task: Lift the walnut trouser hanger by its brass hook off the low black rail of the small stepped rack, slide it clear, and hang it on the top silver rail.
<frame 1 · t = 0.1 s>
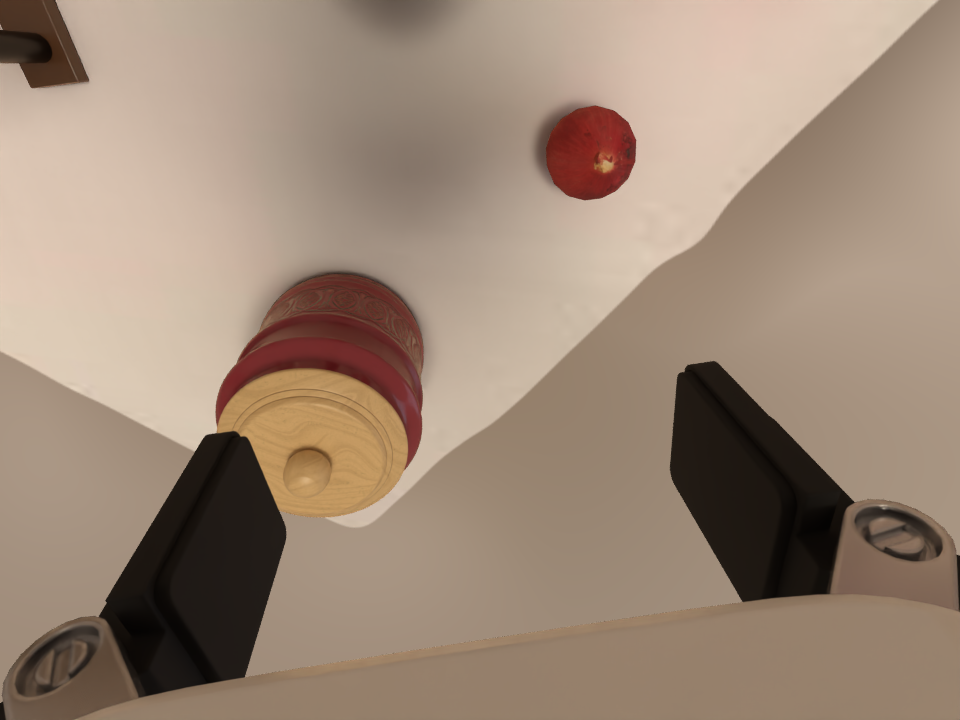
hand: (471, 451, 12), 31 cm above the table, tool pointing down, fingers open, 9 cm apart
kitchen canister: (346, 341, 45), on the table
red oval fruit: (576, 146, 39), on the table
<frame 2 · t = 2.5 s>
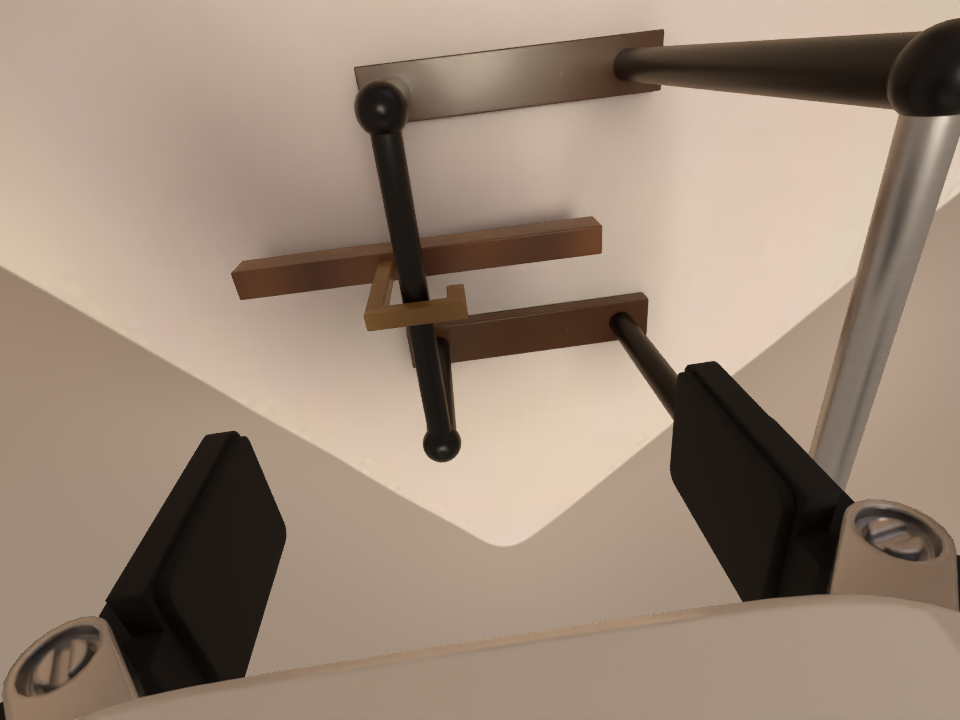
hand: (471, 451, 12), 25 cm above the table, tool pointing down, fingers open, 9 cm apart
rack: (519, 217, 34), on the table
hanger: (420, 257, 29), point 6 cm above the table, touching rack
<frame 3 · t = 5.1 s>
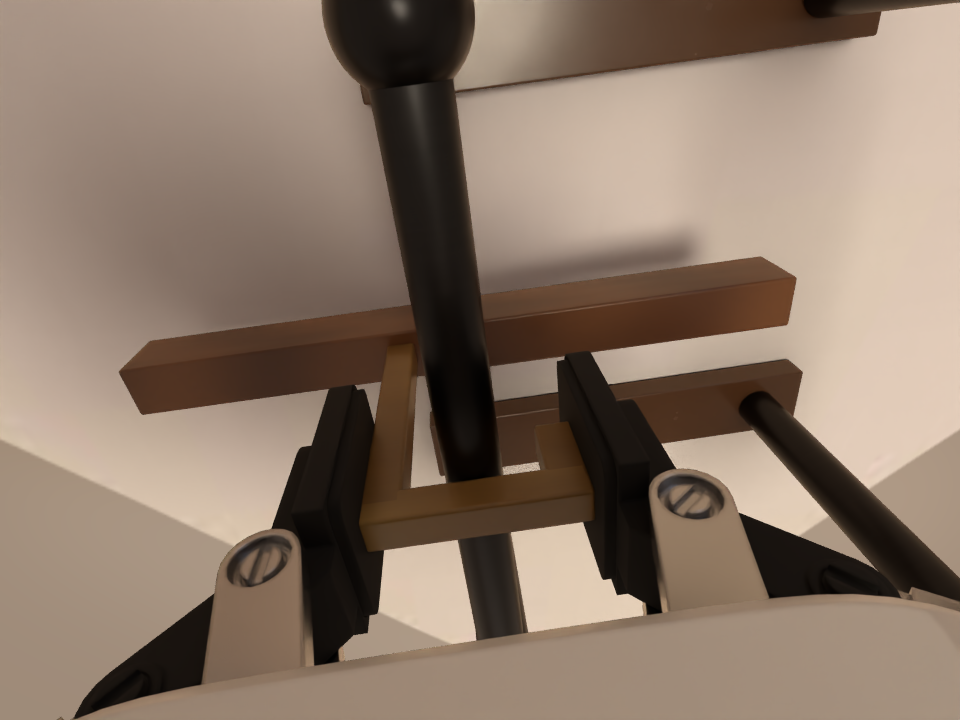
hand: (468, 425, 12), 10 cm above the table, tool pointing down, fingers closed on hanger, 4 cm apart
rack: (610, 250, 21), on the table
hanger: (461, 333, 17), point 5 cm above the table, touching gripper, rack
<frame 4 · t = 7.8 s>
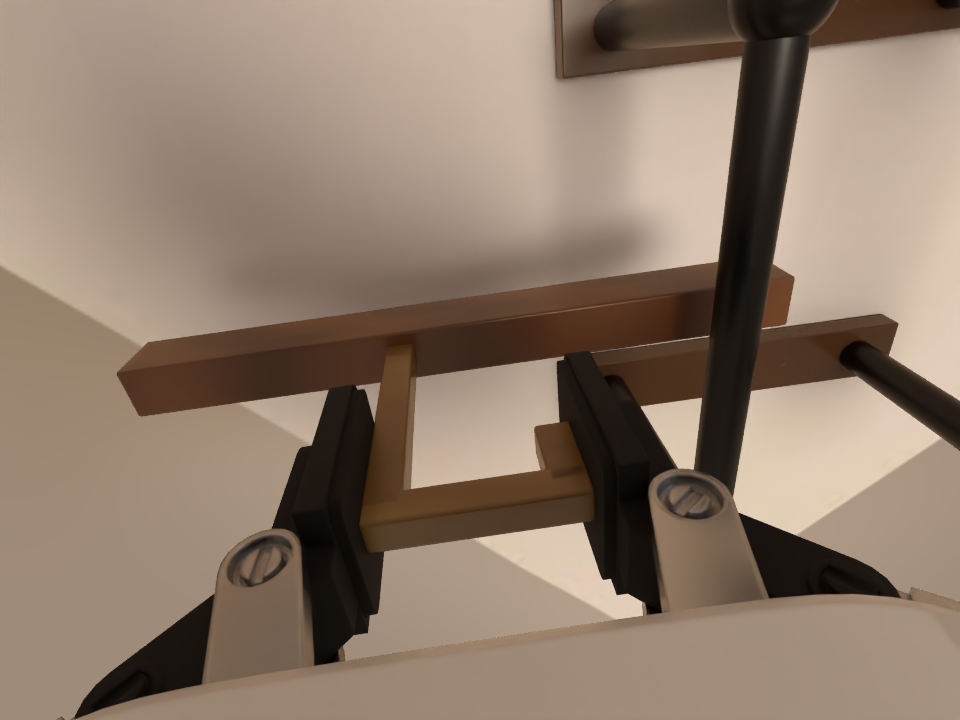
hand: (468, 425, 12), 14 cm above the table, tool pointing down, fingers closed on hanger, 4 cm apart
rack: (741, 211, 25), on the table
hanger: (460, 333, 17), point 9 cm above the table, touching gripper
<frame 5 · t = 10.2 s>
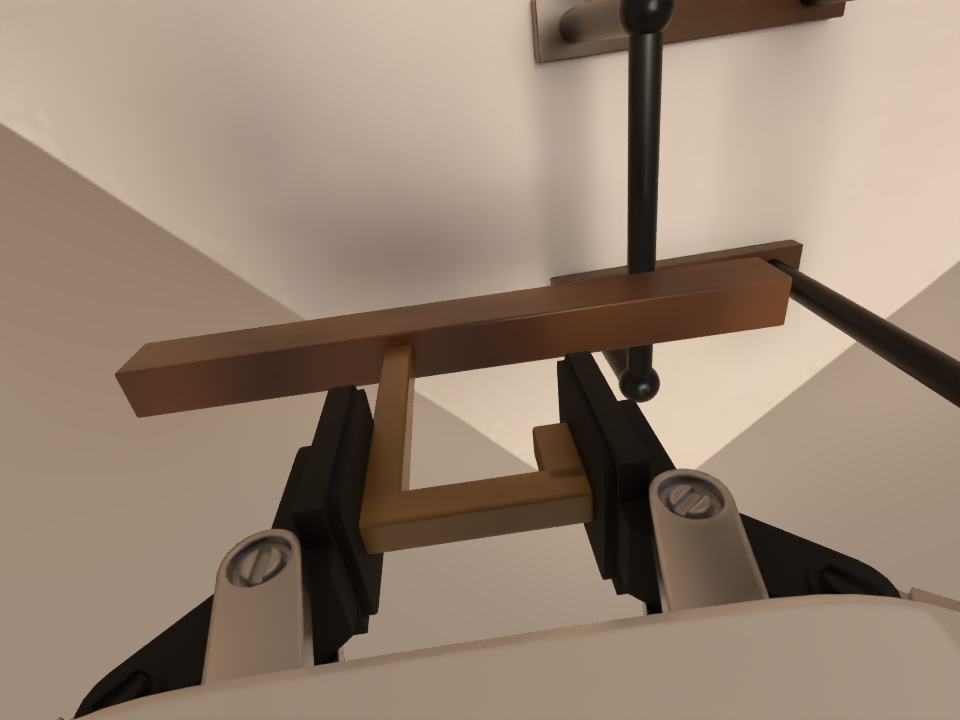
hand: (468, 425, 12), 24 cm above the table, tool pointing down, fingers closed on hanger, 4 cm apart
rack: (676, 160, 33), on the table
hanger: (458, 334, 17), point 19 cm above the table, touching gripper
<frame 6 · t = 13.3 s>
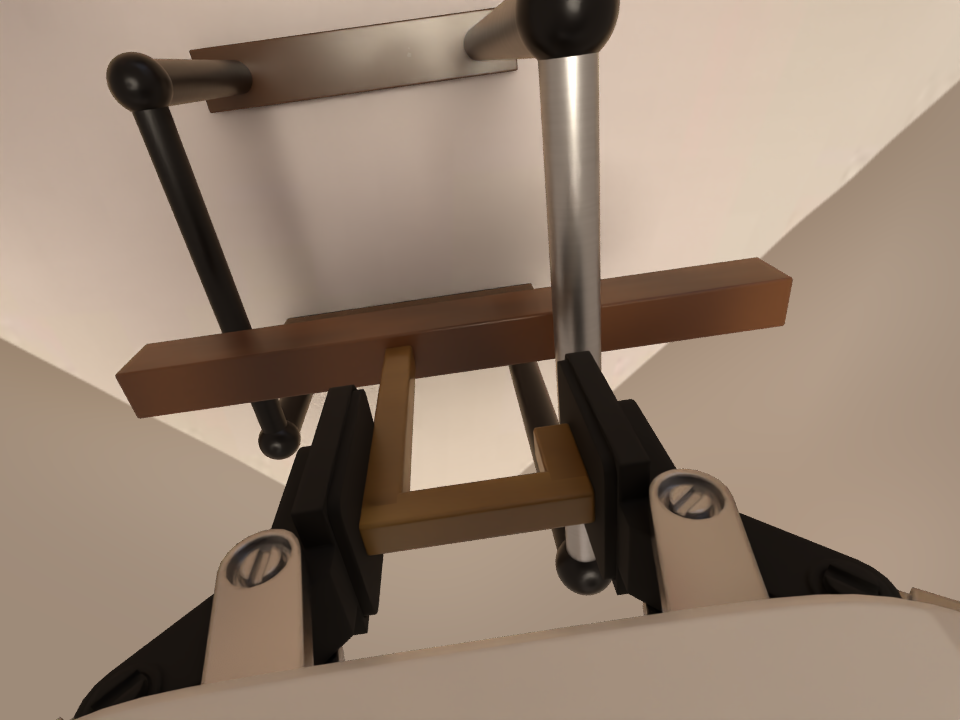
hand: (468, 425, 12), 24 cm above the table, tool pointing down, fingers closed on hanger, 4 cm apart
rack: (390, 205, 33), on the table
hanger: (458, 335, 17), point 19 cm above the table, touching gripper
when the fingers open (20 cm above the table, at t = 15.6 s): hanger stays where it is, resting on rack.
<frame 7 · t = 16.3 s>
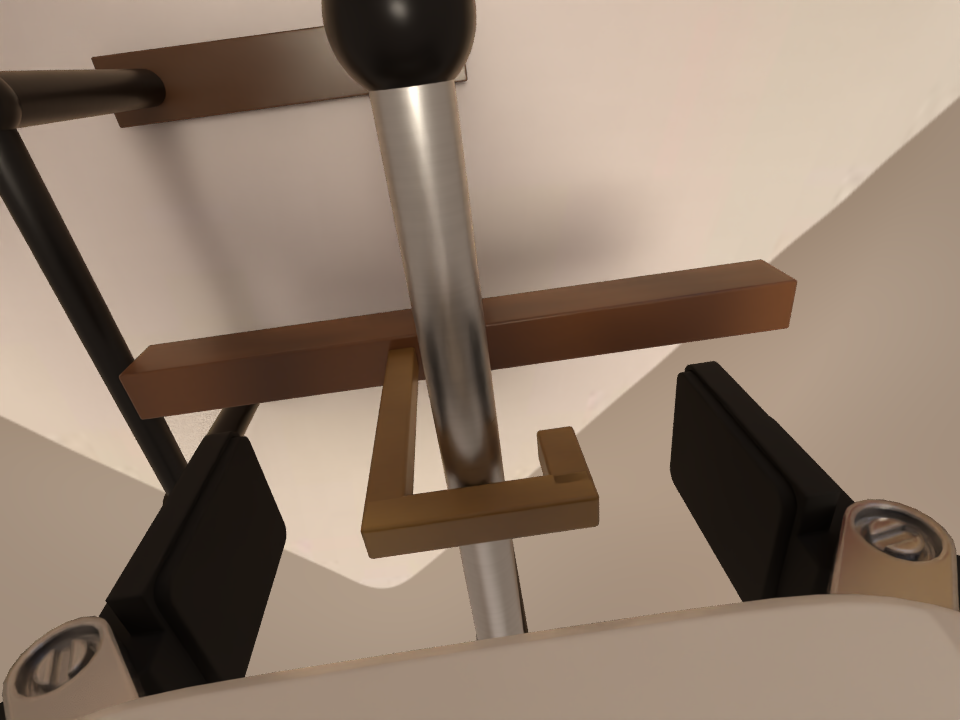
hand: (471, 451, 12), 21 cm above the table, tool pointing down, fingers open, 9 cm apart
rack: (332, 229, 30), on the table
hanger: (461, 336, 17), point 15 cm above the table, touching rack
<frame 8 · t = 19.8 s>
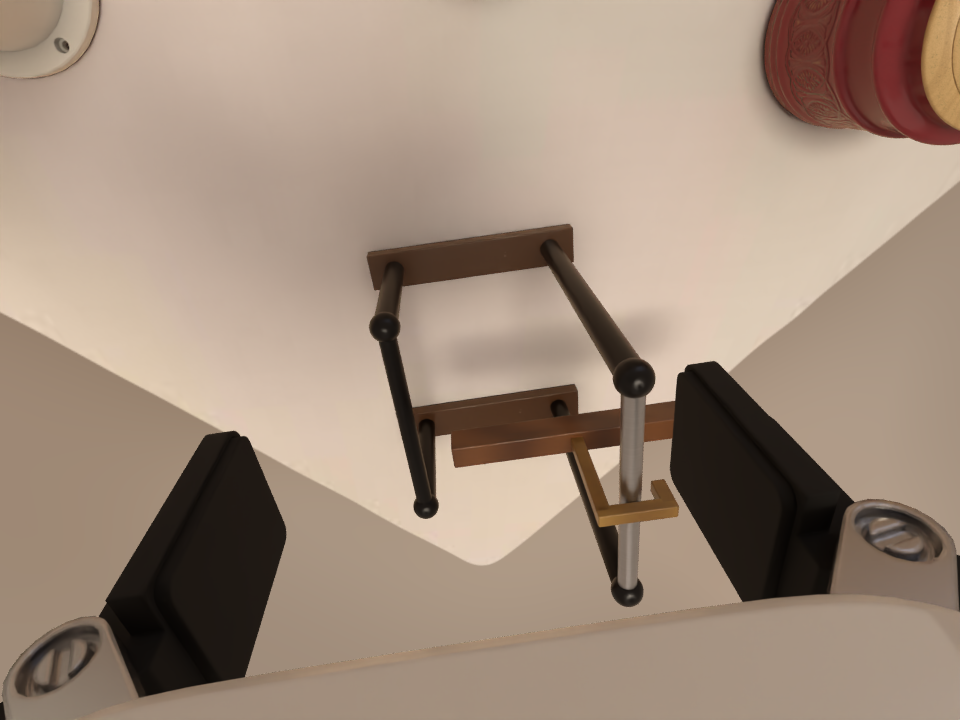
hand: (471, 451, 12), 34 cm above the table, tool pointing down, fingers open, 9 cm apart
kitchen canister: (844, 29, 39), on the table
rack: (482, 338, 49), on the table
hanger: (600, 429, 35), point 16 cm above the table, touching rack
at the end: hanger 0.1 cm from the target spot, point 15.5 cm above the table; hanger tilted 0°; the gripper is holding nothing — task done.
